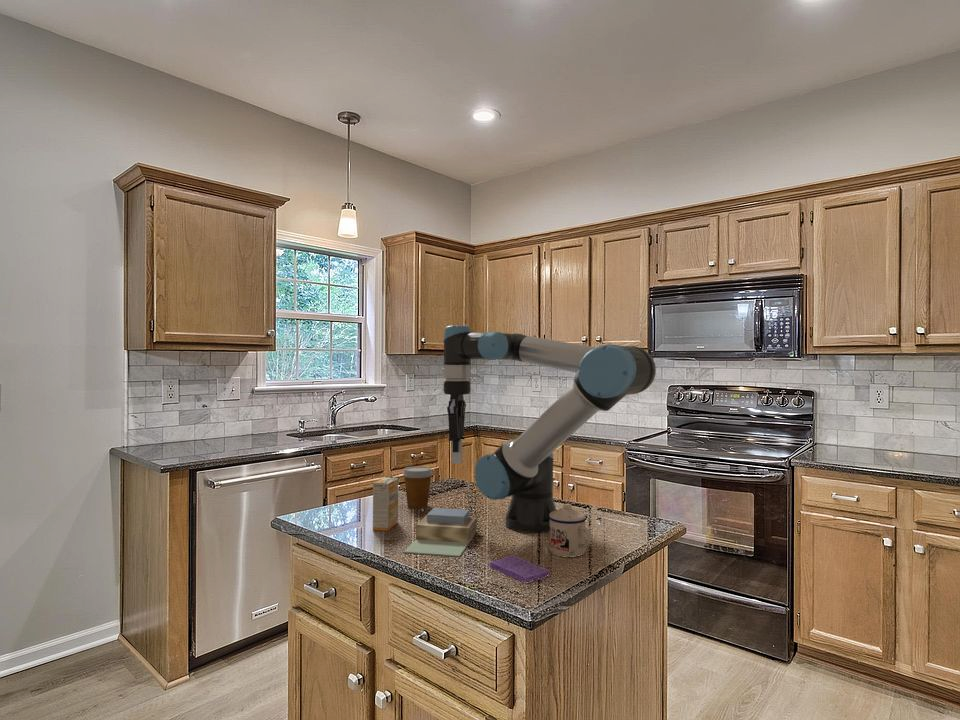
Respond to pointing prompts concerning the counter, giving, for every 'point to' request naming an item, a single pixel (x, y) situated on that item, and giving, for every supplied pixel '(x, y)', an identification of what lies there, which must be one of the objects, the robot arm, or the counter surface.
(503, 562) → the sponges
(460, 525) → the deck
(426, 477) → the disposable coffee cup
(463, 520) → the blue-grey rectangular block
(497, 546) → the counter surface
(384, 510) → the supplement box
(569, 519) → the teacup with lid
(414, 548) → the mat
